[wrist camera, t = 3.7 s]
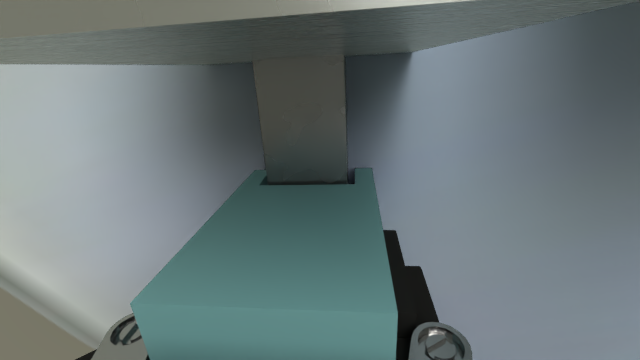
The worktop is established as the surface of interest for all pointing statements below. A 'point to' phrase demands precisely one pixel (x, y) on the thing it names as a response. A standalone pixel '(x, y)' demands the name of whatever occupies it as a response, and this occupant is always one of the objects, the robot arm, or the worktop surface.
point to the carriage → (278, 279)
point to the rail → (303, 119)
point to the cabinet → (254, 28)
